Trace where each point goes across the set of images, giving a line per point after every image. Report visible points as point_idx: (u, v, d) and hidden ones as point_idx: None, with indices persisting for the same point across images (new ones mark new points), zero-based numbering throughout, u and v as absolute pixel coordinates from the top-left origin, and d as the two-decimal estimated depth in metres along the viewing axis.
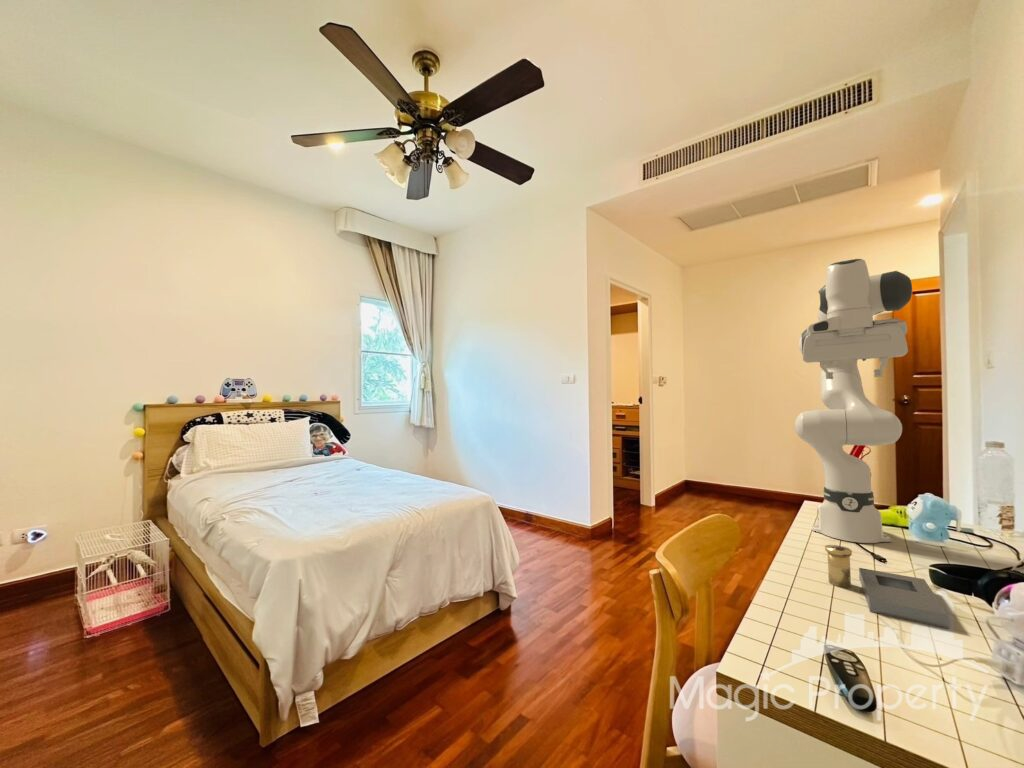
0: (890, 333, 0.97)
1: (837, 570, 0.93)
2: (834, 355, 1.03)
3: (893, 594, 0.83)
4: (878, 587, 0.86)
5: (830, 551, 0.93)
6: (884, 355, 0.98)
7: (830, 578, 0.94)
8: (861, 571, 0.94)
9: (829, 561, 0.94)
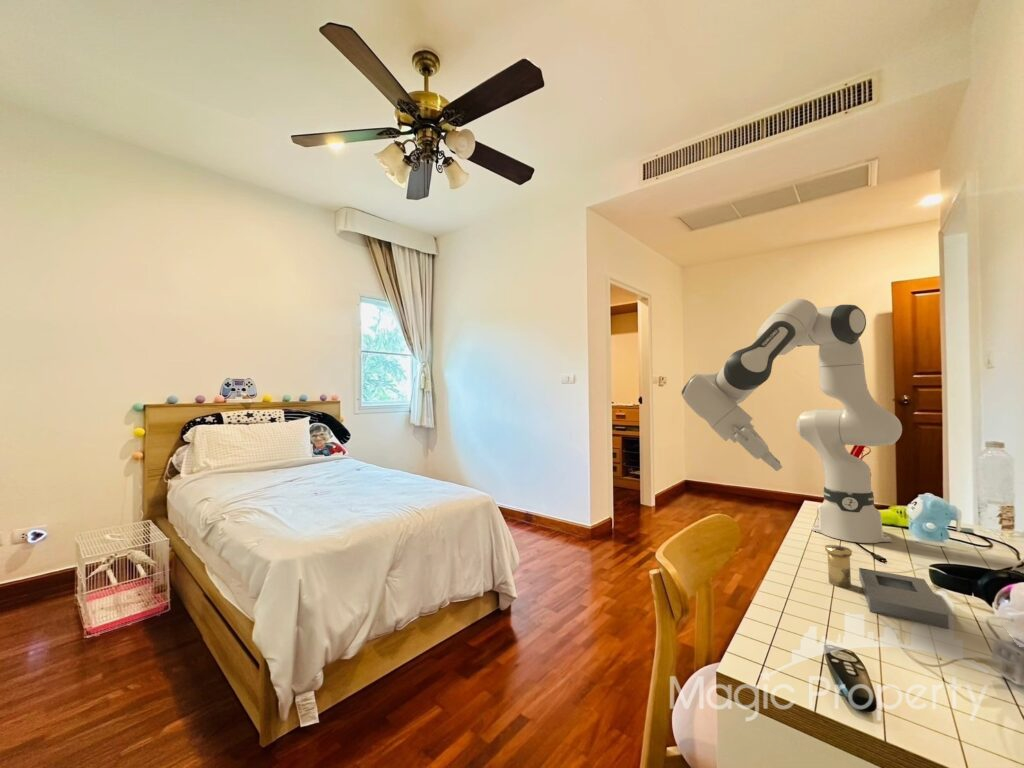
0: None
1: (837, 570, 0.93)
2: None
3: (893, 594, 0.83)
4: (878, 587, 0.86)
5: (830, 551, 0.93)
6: None
7: (830, 578, 0.94)
8: (861, 571, 0.94)
9: (829, 561, 0.94)
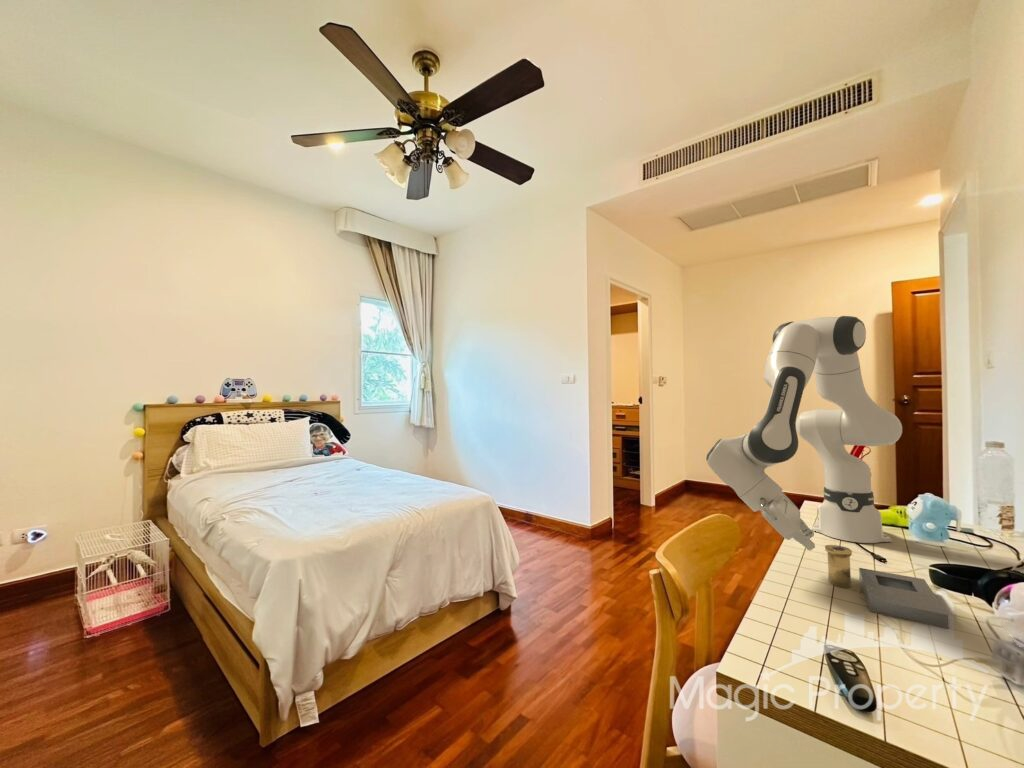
0: None
1: (837, 570, 0.93)
2: None
3: (893, 594, 0.83)
4: (878, 587, 0.86)
5: (830, 551, 0.93)
6: None
7: (830, 578, 0.94)
8: (861, 571, 0.94)
9: (829, 561, 0.94)
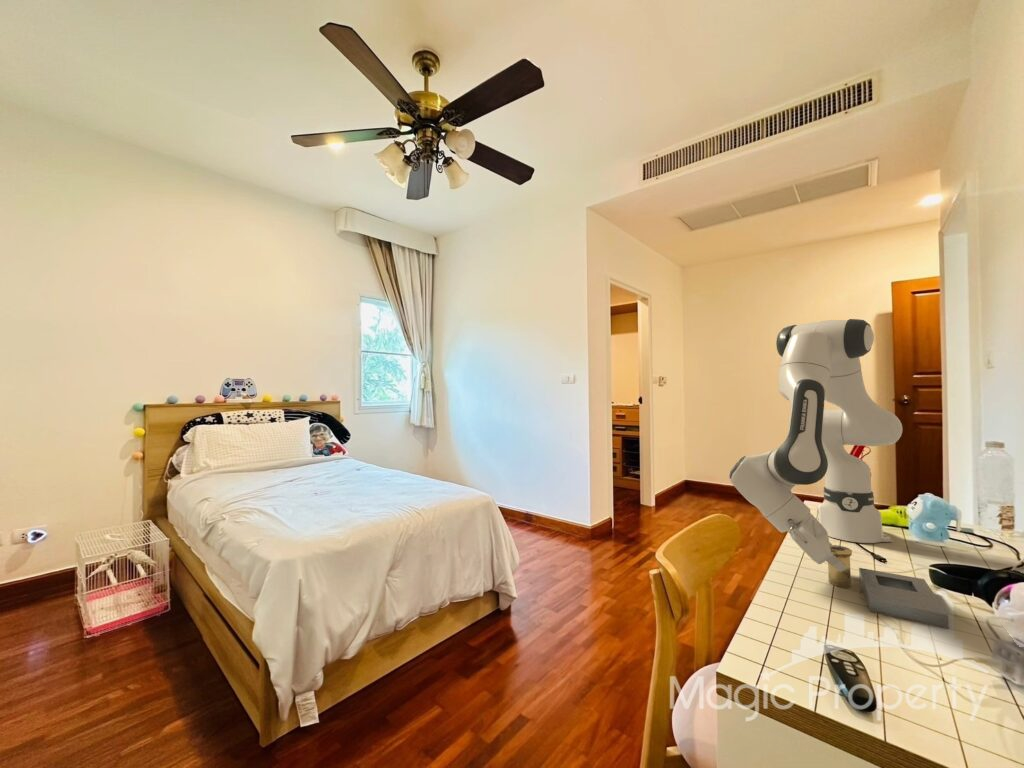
0: None
1: (837, 570, 0.93)
2: None
3: (893, 594, 0.83)
4: (878, 587, 0.86)
5: None
6: None
7: (830, 578, 0.94)
8: (861, 571, 0.94)
9: None
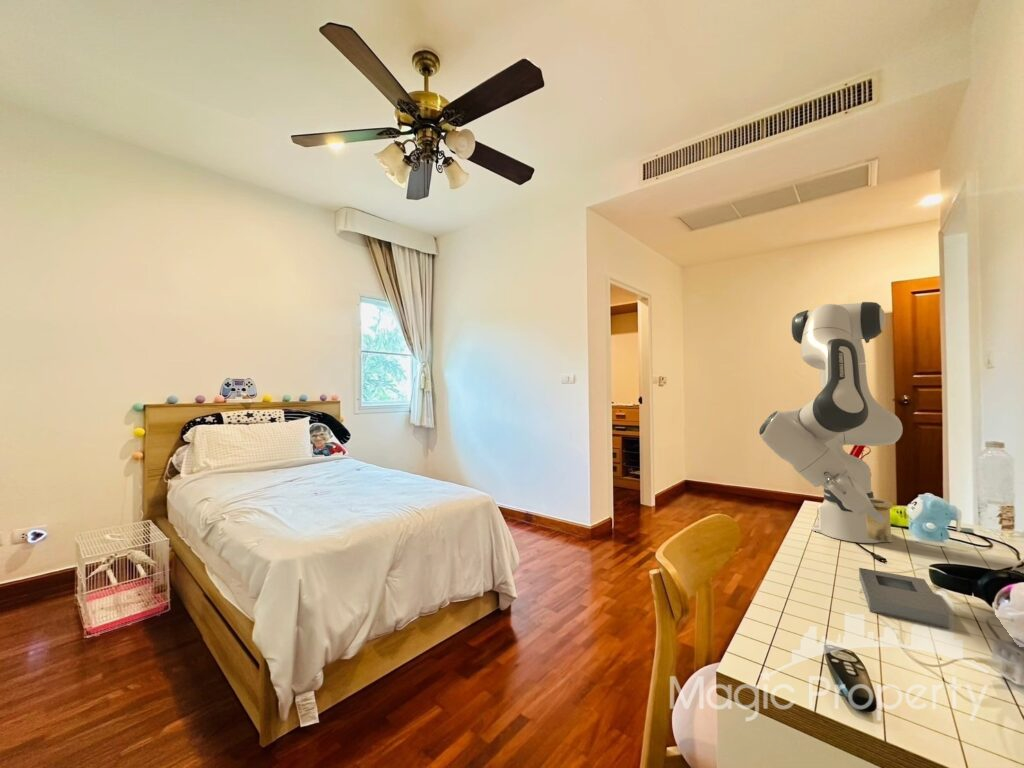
0: None
1: (876, 523, 0.89)
2: None
3: (893, 594, 0.83)
4: (878, 587, 0.86)
5: None
6: None
7: (869, 532, 0.90)
8: (861, 571, 0.94)
9: (867, 515, 0.91)
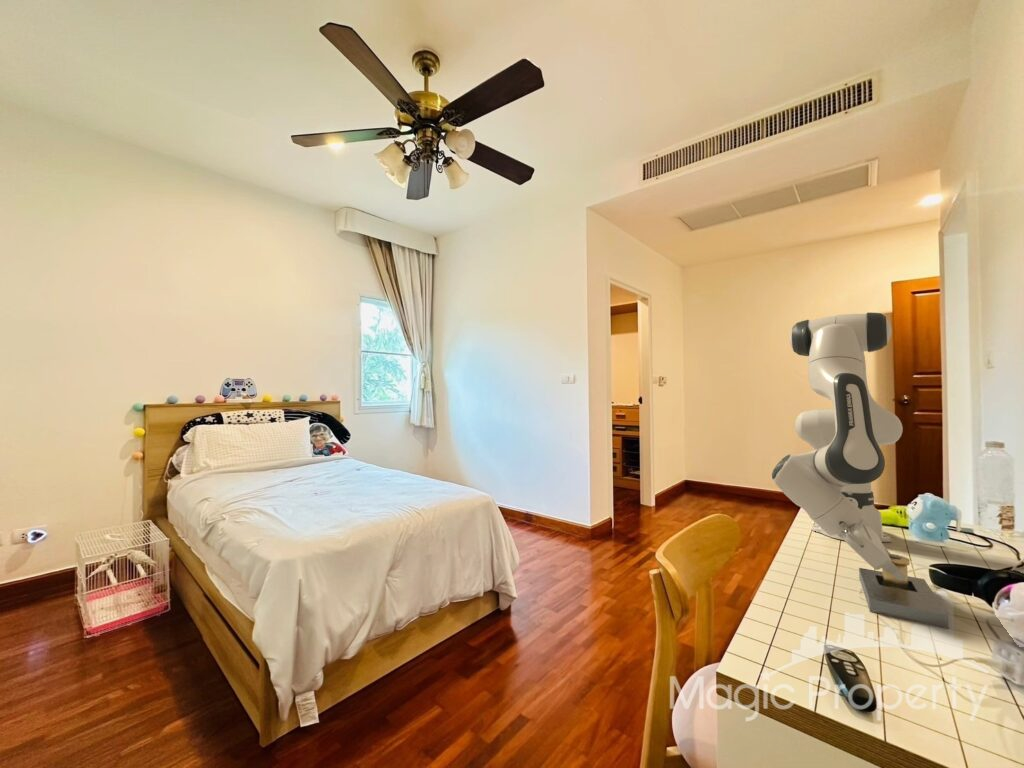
0: None
1: (893, 580, 0.87)
2: (862, 546, 0.94)
3: (893, 594, 0.83)
4: (878, 587, 0.86)
5: None
6: None
7: None
8: (861, 571, 0.94)
9: (884, 571, 0.89)
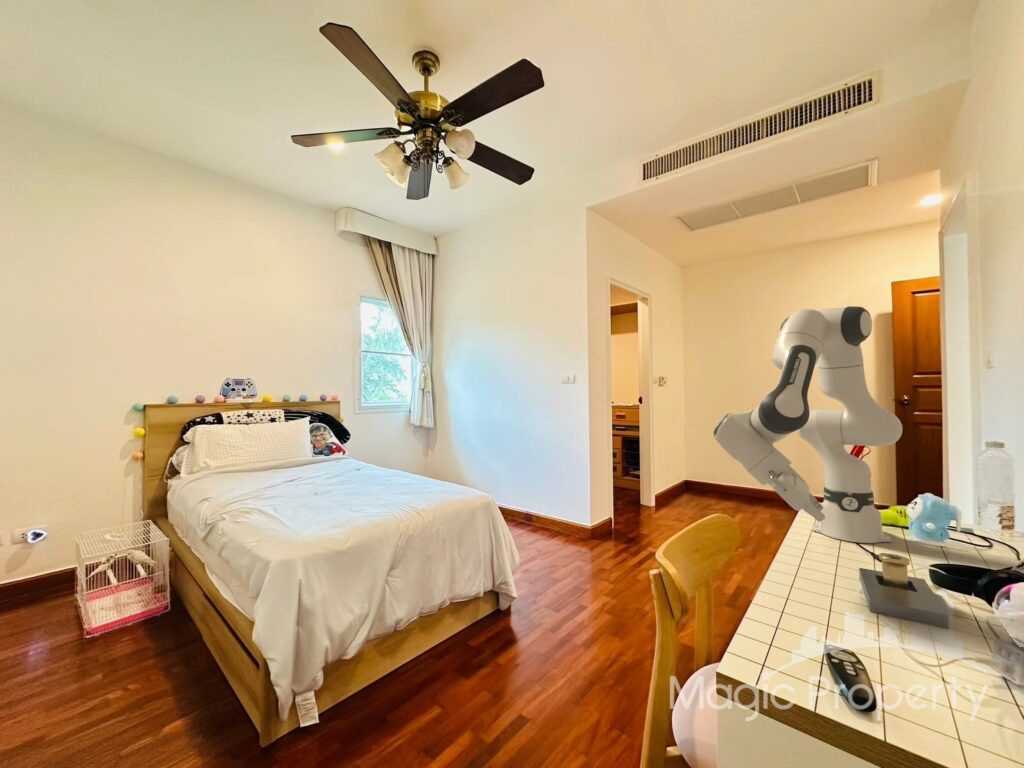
0: None
1: (893, 580, 0.87)
2: None
3: (893, 594, 0.83)
4: (878, 587, 0.86)
5: (886, 560, 0.88)
6: None
7: None
8: (861, 571, 0.94)
9: (884, 571, 0.89)
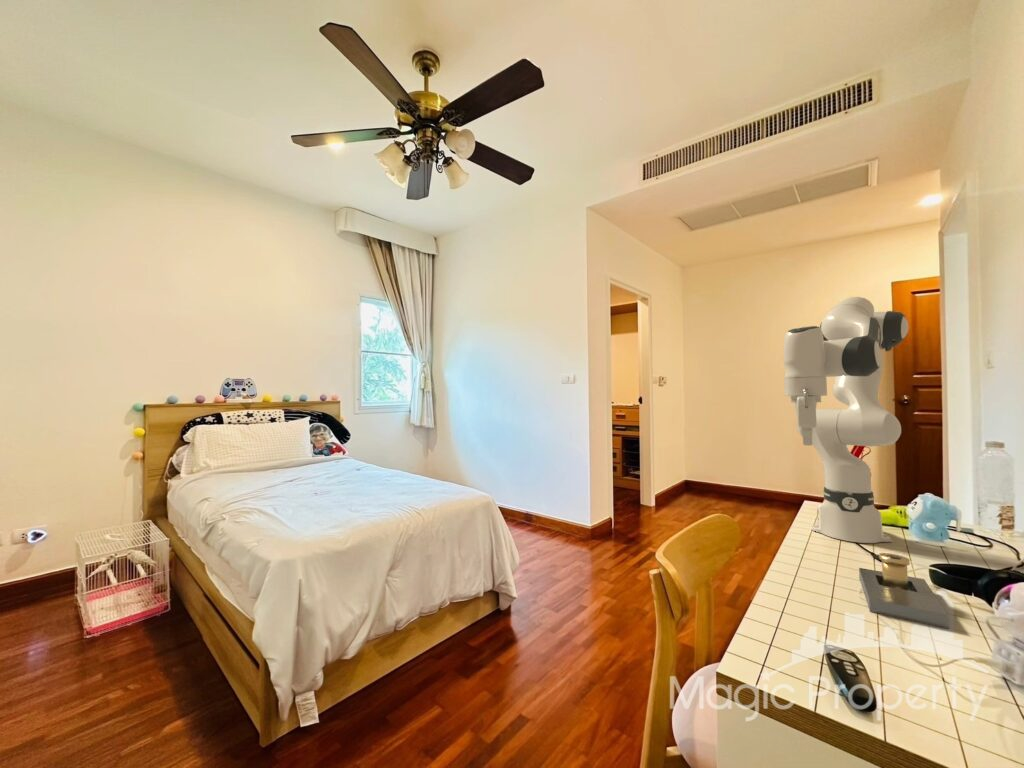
0: None
1: (893, 580, 0.87)
2: None
3: (893, 594, 0.83)
4: (878, 587, 0.86)
5: (886, 560, 0.88)
6: None
7: None
8: (861, 571, 0.94)
9: (884, 571, 0.89)
